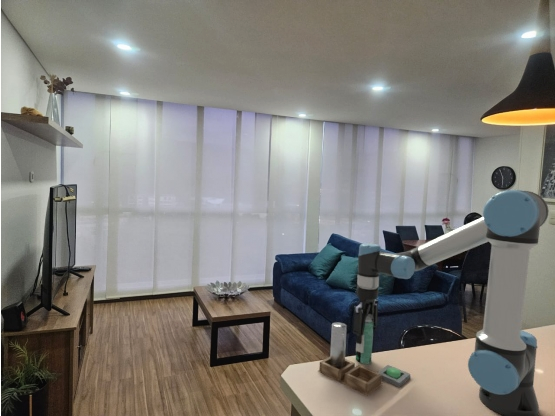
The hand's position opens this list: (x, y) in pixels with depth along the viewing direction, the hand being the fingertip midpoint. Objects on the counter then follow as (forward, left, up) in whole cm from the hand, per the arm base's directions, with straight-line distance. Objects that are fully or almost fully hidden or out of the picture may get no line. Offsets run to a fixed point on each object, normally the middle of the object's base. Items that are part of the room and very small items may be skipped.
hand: (364, 348), depth 129 cm
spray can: (0, 0, -6) cm, 6 cm away
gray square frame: (-13, +3, -5) cm, 14 cm away
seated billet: (+2, +14, -4) cm, 15 cm away
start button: (-13, +3, -5) cm, 14 cm away
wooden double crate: (-3, +14, -5) cm, 15 cm away
